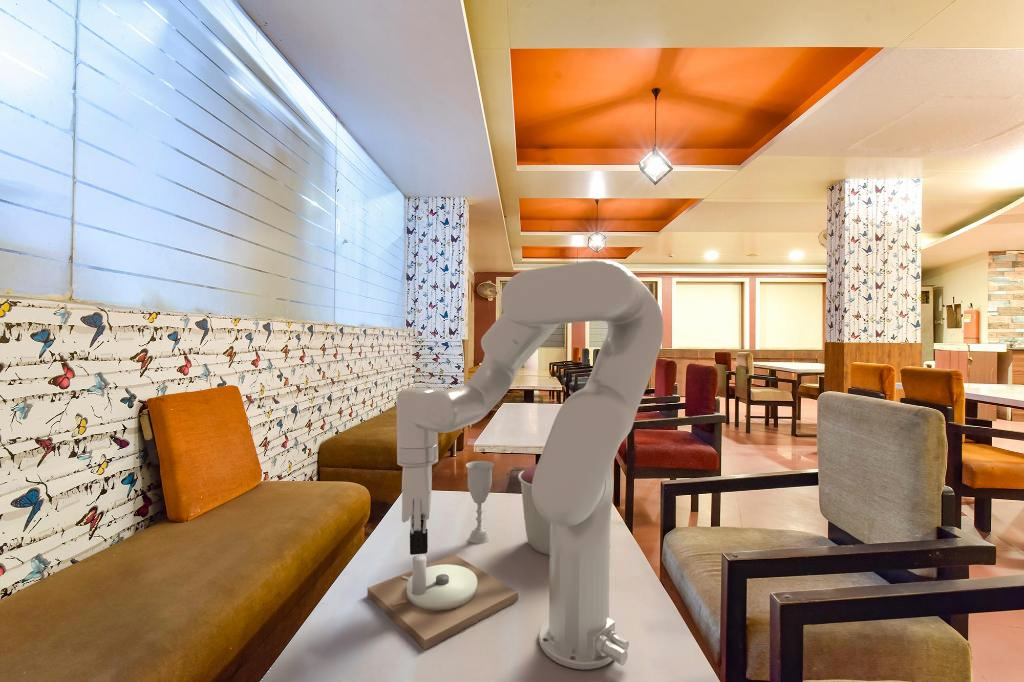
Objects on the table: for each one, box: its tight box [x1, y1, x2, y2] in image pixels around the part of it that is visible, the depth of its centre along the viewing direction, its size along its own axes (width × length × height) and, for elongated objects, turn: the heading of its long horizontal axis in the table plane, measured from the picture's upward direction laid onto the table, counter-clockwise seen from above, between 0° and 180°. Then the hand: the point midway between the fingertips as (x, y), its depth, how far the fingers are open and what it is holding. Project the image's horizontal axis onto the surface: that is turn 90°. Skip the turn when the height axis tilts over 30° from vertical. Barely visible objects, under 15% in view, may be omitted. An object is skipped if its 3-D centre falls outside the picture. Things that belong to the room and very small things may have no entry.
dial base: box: [366, 553, 519, 650], centre depth 85 cm, size 20×20×2 cm
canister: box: [517, 463, 551, 556], centre depth 107 cm, size 18×18×21 cm
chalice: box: [465, 460, 495, 545], centre depth 110 cm, size 7×7×18 cm
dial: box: [407, 554, 477, 610], centre depth 85 cm, size 13×13×8 cm
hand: (418, 552), depth 85 cm, fingers closed
